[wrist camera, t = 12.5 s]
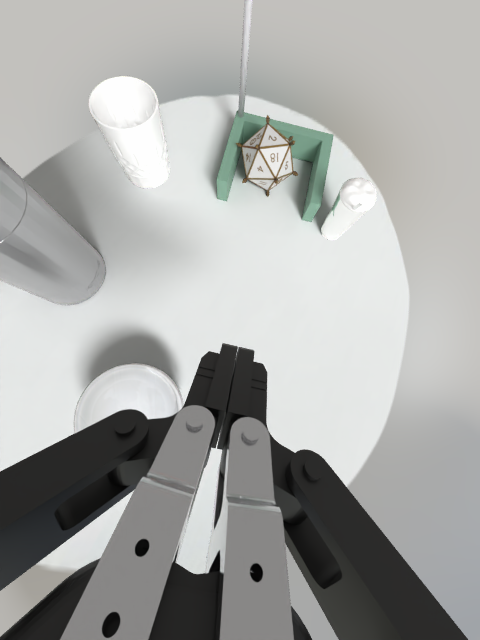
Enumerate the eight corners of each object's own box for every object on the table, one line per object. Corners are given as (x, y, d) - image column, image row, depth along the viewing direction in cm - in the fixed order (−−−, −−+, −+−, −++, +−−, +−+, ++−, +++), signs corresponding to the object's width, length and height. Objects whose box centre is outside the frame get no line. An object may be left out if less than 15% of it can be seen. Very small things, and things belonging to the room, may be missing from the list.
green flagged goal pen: (217, 198, 38) (211, 16, 19) (235, 135, 41) (247, -82, 21) (311, 222, 38) (401, 65, 19) (323, 157, 41) (412, -38, 22)
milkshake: (310, 242, 38) (341, 196, 28) (321, 214, 39) (354, 160, 29) (338, 253, 38) (379, 211, 28) (348, 224, 39) (390, 175, 29)
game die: (255, 205, 43) (230, 192, 34) (247, 152, 41) (219, 123, 32) (308, 189, 39) (296, 169, 30) (301, 130, 37) (286, 90, 28)
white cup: (145, 141, 40) (119, 65, 30) (184, 167, 39) (171, 98, 29) (111, 174, 38) (73, 105, 28) (152, 201, 37) (127, 141, 28)
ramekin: (206, 414, 32) (203, 422, 26) (132, 478, 29) (113, 500, 24) (154, 347, 33) (142, 342, 28) (80, 403, 31) (52, 409, 26)
